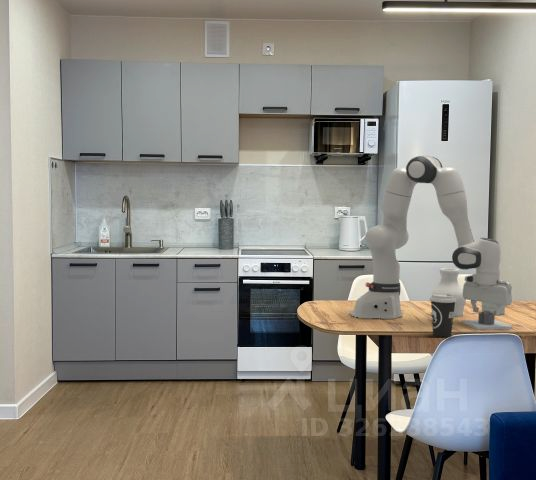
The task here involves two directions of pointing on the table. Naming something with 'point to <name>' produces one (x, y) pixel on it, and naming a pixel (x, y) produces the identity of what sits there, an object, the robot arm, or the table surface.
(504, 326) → the post
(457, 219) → the robot arm
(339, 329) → the table surface
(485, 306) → the skincare box
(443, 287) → the vase
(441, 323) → the coffee cup
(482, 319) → the ring
